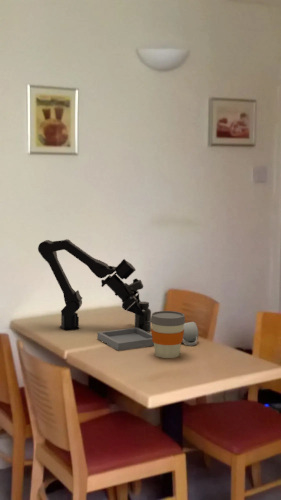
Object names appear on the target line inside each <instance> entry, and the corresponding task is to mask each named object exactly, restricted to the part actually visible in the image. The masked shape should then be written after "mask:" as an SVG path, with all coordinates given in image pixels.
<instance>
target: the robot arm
mask: <svg viewBox="0 0 281 500" xmlns="http://www.w3.org/2000/svg"><path fill="white" fill-rule="evenodd" d="M37 250H38V251H37V252H38V253H39V254H40V256H41V257H42V258H43V260H44V261H45V262H47V264H48V265H49V268H50V269H51V271H52V273H53V276H54V278H55V279H56V281H57V284H58V285H59V287H60V289H61V291H62V294H63V300H64V303H65V306H64V307H63V308H62V309H61V310H60V313H61V317H60V318H61V319H60V321H61V322H60V323H61V325H59V328H61V329H63V330H64V331H70V330H71V331H72V330H79V329H80V322H79V321H80V317H79V316H78V315H79V314H78V312H77V311H79V309H80V308H81V307H82V304H83V297H82V296H81V294H80V291H79V289H77V290H75V289H73V287H72V285H71V283H70V281H69V279H68V277H67V274H66V273H65V271H64V269H63V266H62V264H61V263H60V260H59V259H58V254H57V252H59V251H63V250H64V251H66V252H68V253H69V254H70V255H72V256H73V257H74V258H76V259H77V260H79V261H80V262H81V263H82V264H84V265H85V266H87V267H88V269H89V270H90V271H91V272H92V274H94V275H95V276H96V277H97V278H98V279H101V281H100V282H101V287H102V288H104V287H105V286H107V287H108V288H109V289H110V290H111V291H112V292H113V293H114V295H115V296H116V297H118V298H119V299H120V300H121V302H122V303H121V307H122V309H123V310H124V311H127V312H130V313H132V314H134V315H135V314H137V315H140V316H142V317H143V316H144V315H145V314H144V313H143V312H142V310H141V309H140V307H139V306H138V302H142V301H141V300H140V293H139V291H140V290H142V289H144V284H143V281H142V280H141V279H138V278H134V279H133V280H132V283H130V284H129V283H127V282H124V281H123V280H127V279H128V278H129V277H130V276H132V274H133V273H134V272H136V268H135V266H133V265H132V262H131V263H130V262H129V261H127V260H126V259H125V258H123V259H122V260H121V262H119V264H117V266H114V265H109V264H108V263H106V262H105V261H102V260H100V259H98V258H94V257H93V256H91V255H90V254H88V253H87V252H86V251H84V250H83V249H81V248H80V247H79V246H77V245H76V244H75V243H73V242H72V241H71V240H69V238H68V239H67V238H66V239H62V240H53V241H52V240H49V239H47V240H43V241H41V242H40V243H39V244H38V246H37Z"/></svg>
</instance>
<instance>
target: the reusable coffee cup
mask: <svg viewBox="0 0 281 500" xmlns="http://www.w3.org/2000/svg"><path fill="white" fill-rule="evenodd" d="M185 316H186V315H185V314H184V313H182V312H179V311H172V310H159V311H154V312H151V330H150V331H151V334H152V341H153V342H154V346H153V349H154V355H155V357H159V358H162V359H163V358H164V359H174V358H178V357H179V356H180V354H181V353H180V352H181V345H182V343H183V342H182V341H183V334H184V329H183V327H184V323H186V319H185V318H186V317H185Z"/></svg>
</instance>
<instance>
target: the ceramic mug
mask: <svg viewBox="0 0 281 500" xmlns="http://www.w3.org/2000/svg"><path fill="white" fill-rule="evenodd" d="M183 329H184V334H183V341H182V343H183V344H184V345H185V346H188V347H193V346H195V345H197V342H198V340H199V328H198V326H197V323H196V322H194V321H190V322H189V321H188V322H185V323H184V327H183Z"/></svg>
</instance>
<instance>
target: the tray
mask: <svg viewBox="0 0 281 500" xmlns="http://www.w3.org/2000/svg"><path fill="white" fill-rule="evenodd" d="M96 335H97V336H96V337H97V340H98V339H99V340H98V341H100V340H101V341H100V342H102V341H103V342H105V343H107V344H106V345H107V346H109V347H110V348H112V349H114V350H116V351H118V352H119V351H120V352H121V351H126V350H134V349H141V348H147V347H154V342H153V341H152V333H150V332H146V331H144V330H142V329H139V328H137V327H136V328H135V327H129V328H121V329H115V330H114V329H113V330H106V331H98V332H97V334H96ZM103 342H102V343H103ZM105 343H104V344H105Z"/></svg>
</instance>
